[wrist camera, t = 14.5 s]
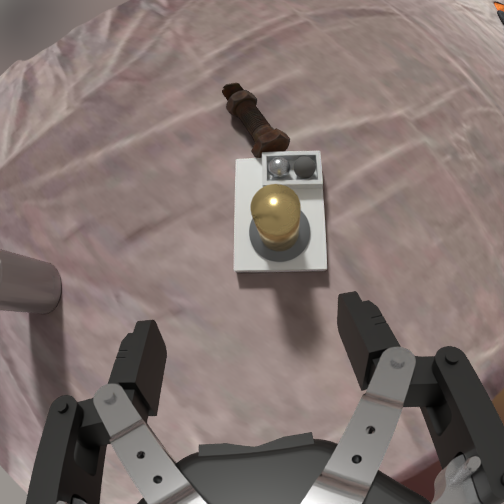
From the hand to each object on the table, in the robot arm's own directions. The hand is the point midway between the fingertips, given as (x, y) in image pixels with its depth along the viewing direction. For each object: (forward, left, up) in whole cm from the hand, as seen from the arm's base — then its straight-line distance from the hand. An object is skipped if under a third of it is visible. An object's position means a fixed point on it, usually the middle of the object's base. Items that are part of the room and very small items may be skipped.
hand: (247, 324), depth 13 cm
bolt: (-3, +30, -29) cm, 42 cm away
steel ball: (+1, +19, -25) cm, 32 cm away
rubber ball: (+4, +19, -25) cm, 32 cm away
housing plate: (+1, +14, -28) cm, 32 cm away
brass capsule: (+1, +11, -26) cm, 28 cm away
